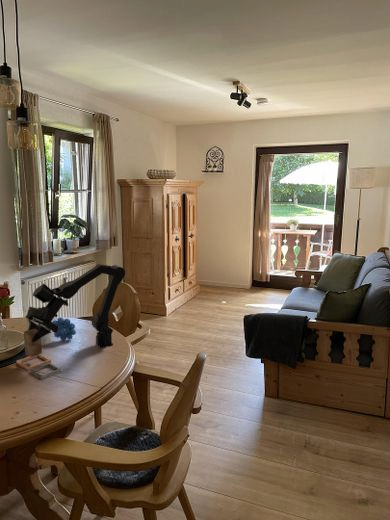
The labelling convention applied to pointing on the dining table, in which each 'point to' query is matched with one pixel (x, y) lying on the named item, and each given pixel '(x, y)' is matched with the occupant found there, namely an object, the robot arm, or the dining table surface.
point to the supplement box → (44, 338)
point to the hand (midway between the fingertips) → (29, 339)
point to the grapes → (64, 329)
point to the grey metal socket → (47, 373)
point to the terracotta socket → (33, 365)
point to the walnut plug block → (32, 343)
